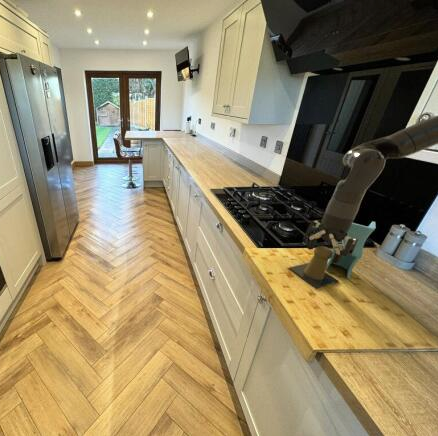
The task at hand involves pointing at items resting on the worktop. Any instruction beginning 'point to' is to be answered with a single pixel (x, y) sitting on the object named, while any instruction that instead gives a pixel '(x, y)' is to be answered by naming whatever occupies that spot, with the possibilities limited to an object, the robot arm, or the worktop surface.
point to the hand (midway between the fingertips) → (321, 255)
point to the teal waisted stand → (361, 235)
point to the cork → (318, 263)
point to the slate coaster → (314, 282)
